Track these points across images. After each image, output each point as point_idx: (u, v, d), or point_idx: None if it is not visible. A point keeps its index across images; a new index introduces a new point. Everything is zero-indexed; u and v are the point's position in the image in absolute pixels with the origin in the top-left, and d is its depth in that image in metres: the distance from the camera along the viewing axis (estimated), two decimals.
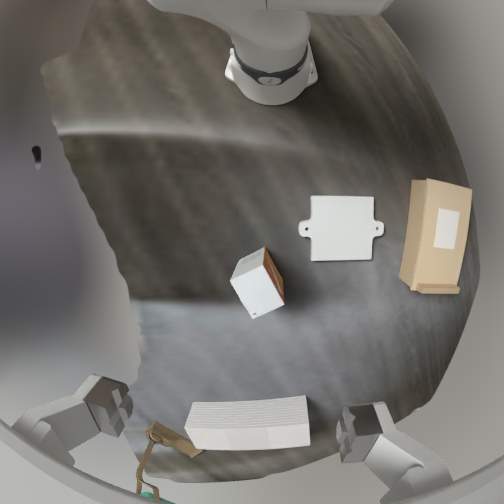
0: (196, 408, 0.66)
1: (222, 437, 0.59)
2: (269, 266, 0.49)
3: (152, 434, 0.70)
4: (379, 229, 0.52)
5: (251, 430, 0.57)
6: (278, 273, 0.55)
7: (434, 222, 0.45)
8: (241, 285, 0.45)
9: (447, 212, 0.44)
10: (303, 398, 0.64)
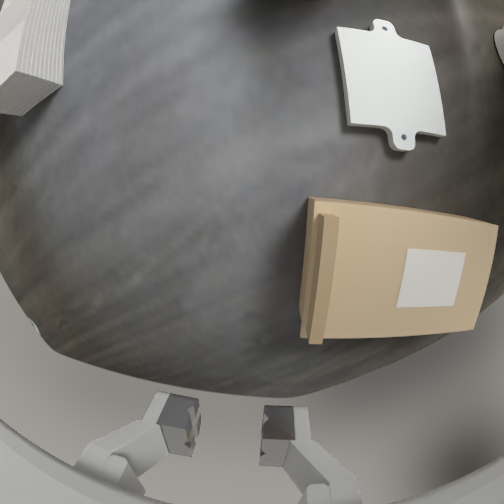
0: None
1: None
2: None
3: None
4: (403, 141, 0.25)
5: (26, 6, 0.13)
6: None
7: (447, 243, 0.22)
8: None
9: (457, 274, 0.23)
10: (58, 80, 0.25)
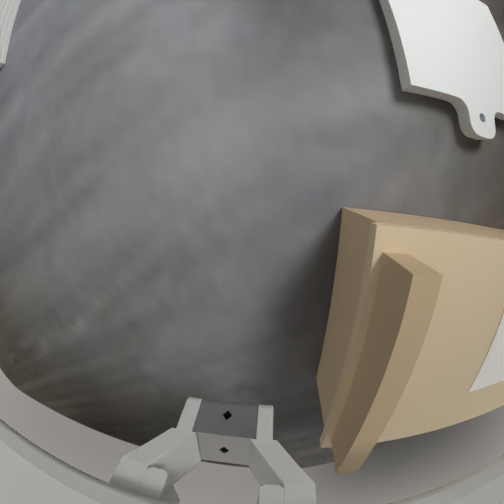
0: None
1: None
2: None
3: None
4: (481, 123, 0.12)
5: None
6: None
7: None
8: None
9: None
10: None
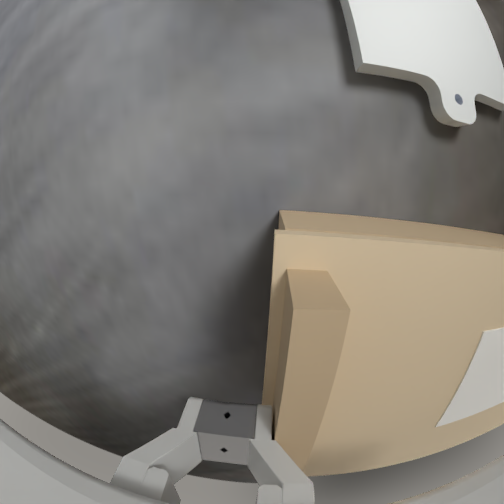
0: None
1: None
2: None
3: None
4: (458, 106, 0.11)
5: None
6: None
7: None
8: None
9: None
10: None
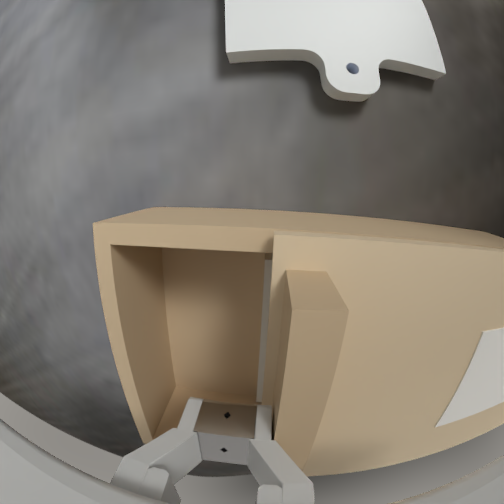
0: None
1: None
2: None
3: None
4: (351, 76, 0.11)
5: None
6: None
7: None
8: None
9: None
10: None
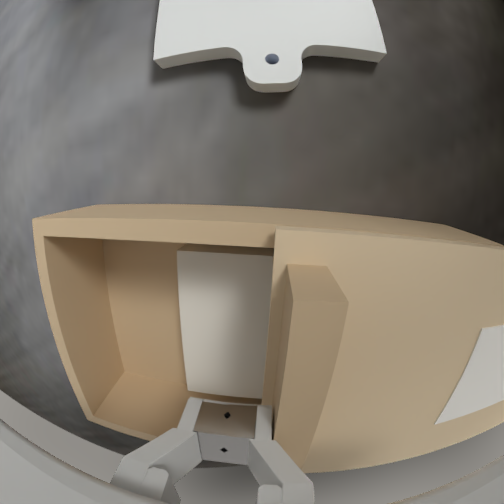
0: None
1: None
2: None
3: None
4: (269, 67, 0.11)
5: None
6: None
7: None
8: None
9: None
10: None
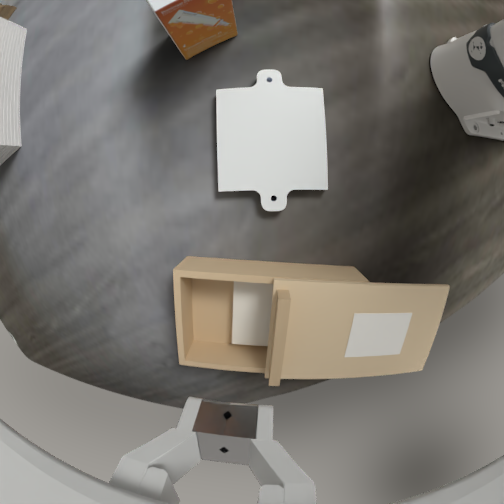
0: (19, 30, 0.23)
1: None
2: (216, 10, 0.20)
3: (2, 7, 0.18)
4: (272, 202, 0.32)
5: None
6: (196, 48, 0.27)
7: (393, 307, 0.28)
8: None
9: (403, 330, 0.29)
10: (17, 142, 0.31)
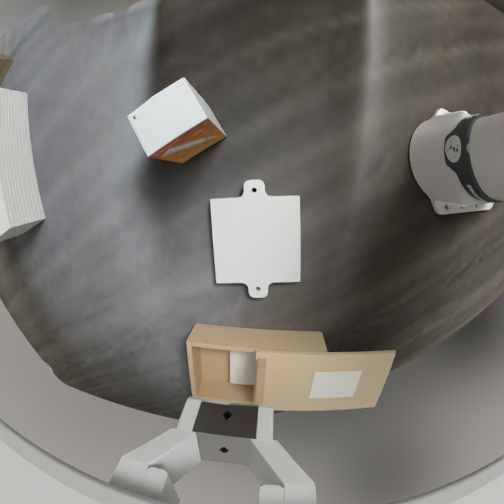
0: (19, 96, 0.35)
1: None
2: (202, 135, 0.31)
3: None
4: (257, 291, 0.42)
5: None
6: (190, 155, 0.38)
7: (345, 367, 0.39)
8: (177, 92, 0.25)
9: (355, 382, 0.39)
10: (41, 216, 0.43)
